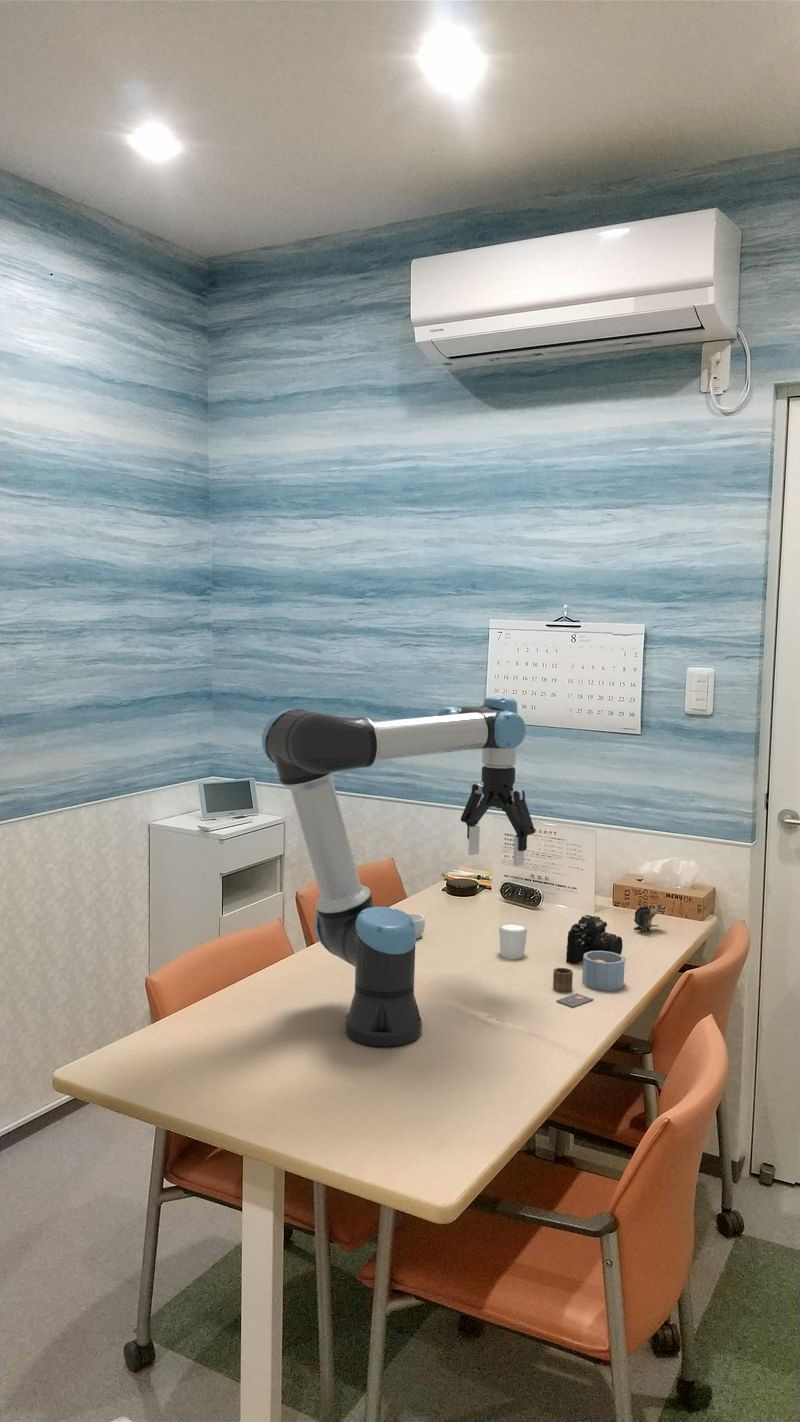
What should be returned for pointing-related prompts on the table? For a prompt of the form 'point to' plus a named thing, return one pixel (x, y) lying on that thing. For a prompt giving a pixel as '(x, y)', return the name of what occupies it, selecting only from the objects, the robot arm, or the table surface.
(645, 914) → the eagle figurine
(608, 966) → the tube
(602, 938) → the film camera
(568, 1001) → the card
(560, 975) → the tube
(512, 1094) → the table surface
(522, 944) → the white cylinder
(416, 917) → the teacup
